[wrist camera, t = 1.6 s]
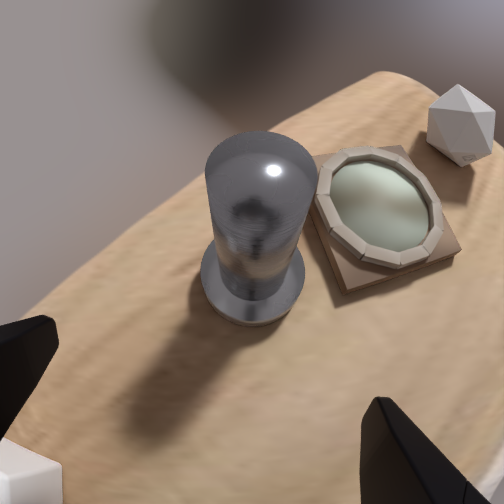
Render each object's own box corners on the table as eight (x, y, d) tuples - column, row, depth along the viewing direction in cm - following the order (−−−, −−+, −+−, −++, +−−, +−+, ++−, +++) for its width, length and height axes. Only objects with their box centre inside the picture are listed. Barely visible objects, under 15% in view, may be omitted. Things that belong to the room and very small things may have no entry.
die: (440, 186, 28) (516, 156, 21) (402, 112, 27) (479, 74, 20) (444, 165, 34) (505, 140, 27) (412, 104, 32) (474, 74, 25)
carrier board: (454, 255, 24) (466, 245, 22) (342, 294, 23) (350, 285, 21) (397, 152, 29) (403, 139, 27) (289, 168, 27) (292, 153, 26)
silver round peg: (313, 311, 22) (378, 226, 11) (216, 337, 21) (188, 273, 10) (283, 227, 25) (310, 104, 14) (194, 248, 24) (163, 129, 13)
